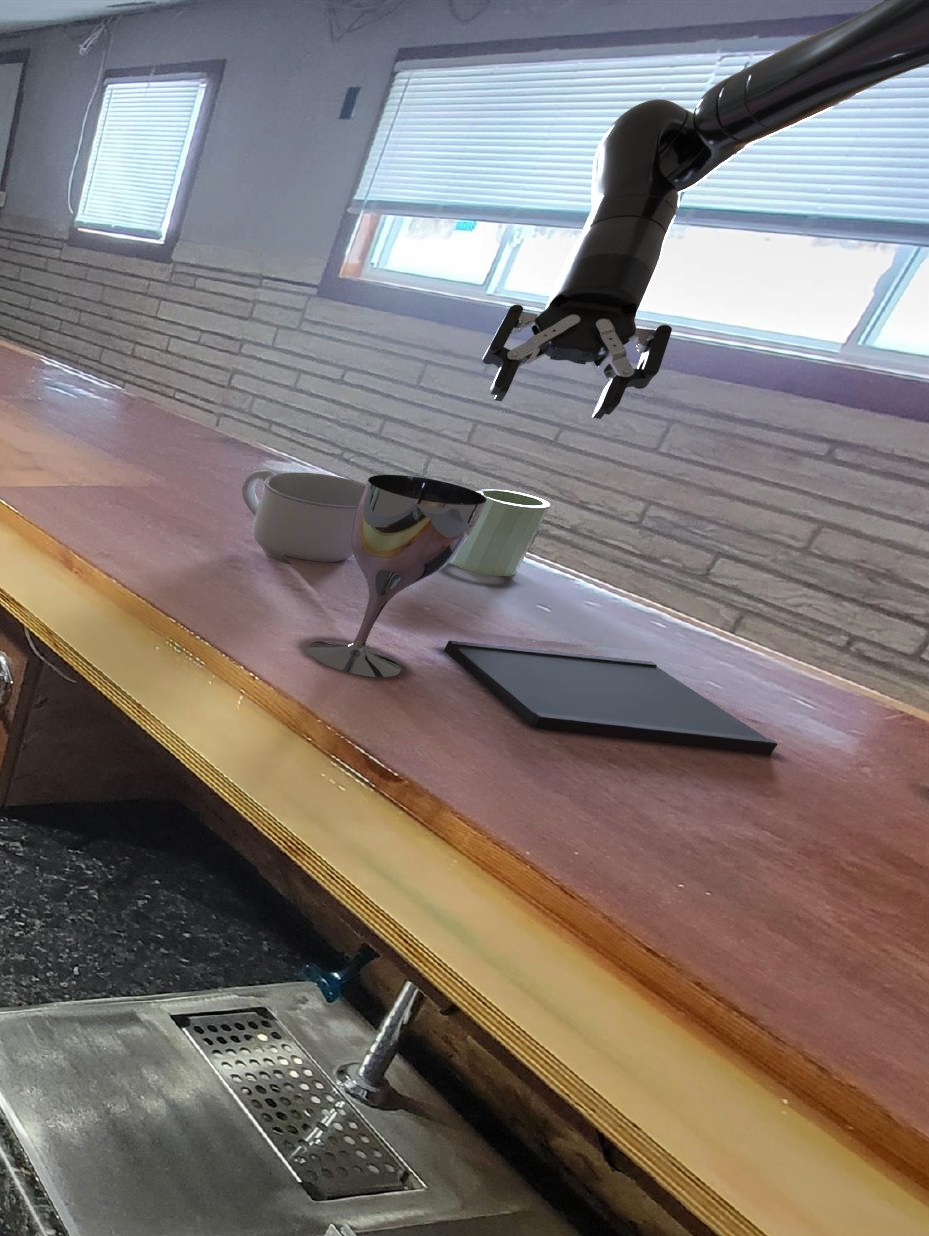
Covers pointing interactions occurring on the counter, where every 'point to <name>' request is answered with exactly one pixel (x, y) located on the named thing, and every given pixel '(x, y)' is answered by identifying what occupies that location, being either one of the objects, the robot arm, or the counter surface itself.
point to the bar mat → (604, 697)
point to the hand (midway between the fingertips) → (549, 405)
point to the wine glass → (399, 553)
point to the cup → (501, 533)
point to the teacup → (303, 514)
